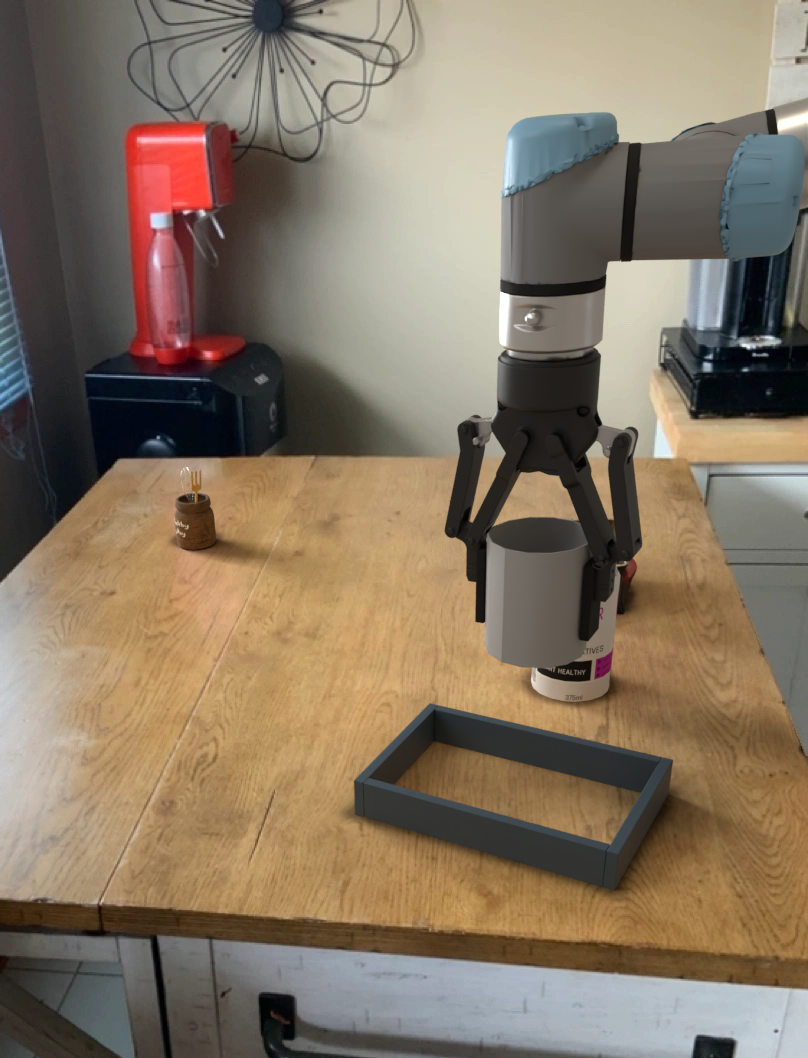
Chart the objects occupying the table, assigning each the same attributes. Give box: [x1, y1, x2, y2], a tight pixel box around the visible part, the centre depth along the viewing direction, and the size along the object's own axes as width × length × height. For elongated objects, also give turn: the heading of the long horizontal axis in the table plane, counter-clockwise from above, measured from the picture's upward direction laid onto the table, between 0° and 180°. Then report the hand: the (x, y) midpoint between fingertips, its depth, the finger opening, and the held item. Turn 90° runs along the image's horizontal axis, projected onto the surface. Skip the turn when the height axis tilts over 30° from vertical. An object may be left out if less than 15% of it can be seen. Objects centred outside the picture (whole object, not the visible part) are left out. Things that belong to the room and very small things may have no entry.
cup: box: [484, 516, 593, 669], centre depth 94 cm, size 8×8×10 cm
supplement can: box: [530, 567, 621, 703], centre depth 119 cm, size 8×8×15 cm
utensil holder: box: [173, 467, 217, 551], centre depth 165 cm, size 6×6×12 cm
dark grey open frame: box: [353, 702, 674, 891], centre depth 103 cm, size 24×16×4 cm, turn 58°
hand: (535, 625), depth 95 cm, fingers closed on cup, 8 cm apart
